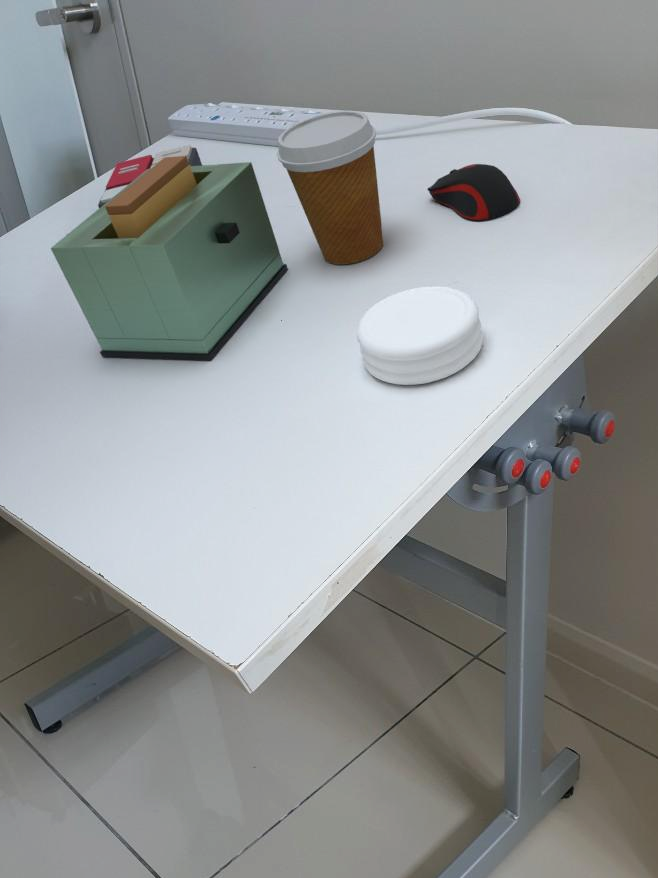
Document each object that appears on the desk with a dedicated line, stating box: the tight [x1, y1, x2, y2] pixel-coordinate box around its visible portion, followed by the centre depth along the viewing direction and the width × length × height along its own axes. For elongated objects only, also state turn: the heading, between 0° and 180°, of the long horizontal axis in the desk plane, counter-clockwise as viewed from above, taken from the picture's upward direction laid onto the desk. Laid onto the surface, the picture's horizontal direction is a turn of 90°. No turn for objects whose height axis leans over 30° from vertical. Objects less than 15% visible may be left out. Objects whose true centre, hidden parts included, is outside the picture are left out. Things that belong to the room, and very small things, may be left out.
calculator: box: [97, 144, 203, 209], centre depth 109 cm, size 11×4×15 cm
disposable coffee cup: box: [276, 110, 384, 266], centre depth 85 cm, size 10×10×12 cm
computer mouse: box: [427, 163, 521, 222], centre depth 90 cm, size 6×11×4 cm, turn 32°
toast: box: [105, 156, 197, 238], centre depth 81 cm, size 2×10×11 cm, turn 160°
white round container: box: [355, 285, 484, 386], centre depth 71 cm, size 10×10×4 cm
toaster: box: [50, 161, 289, 362], centre depth 82 cm, size 13×16×11 cm
